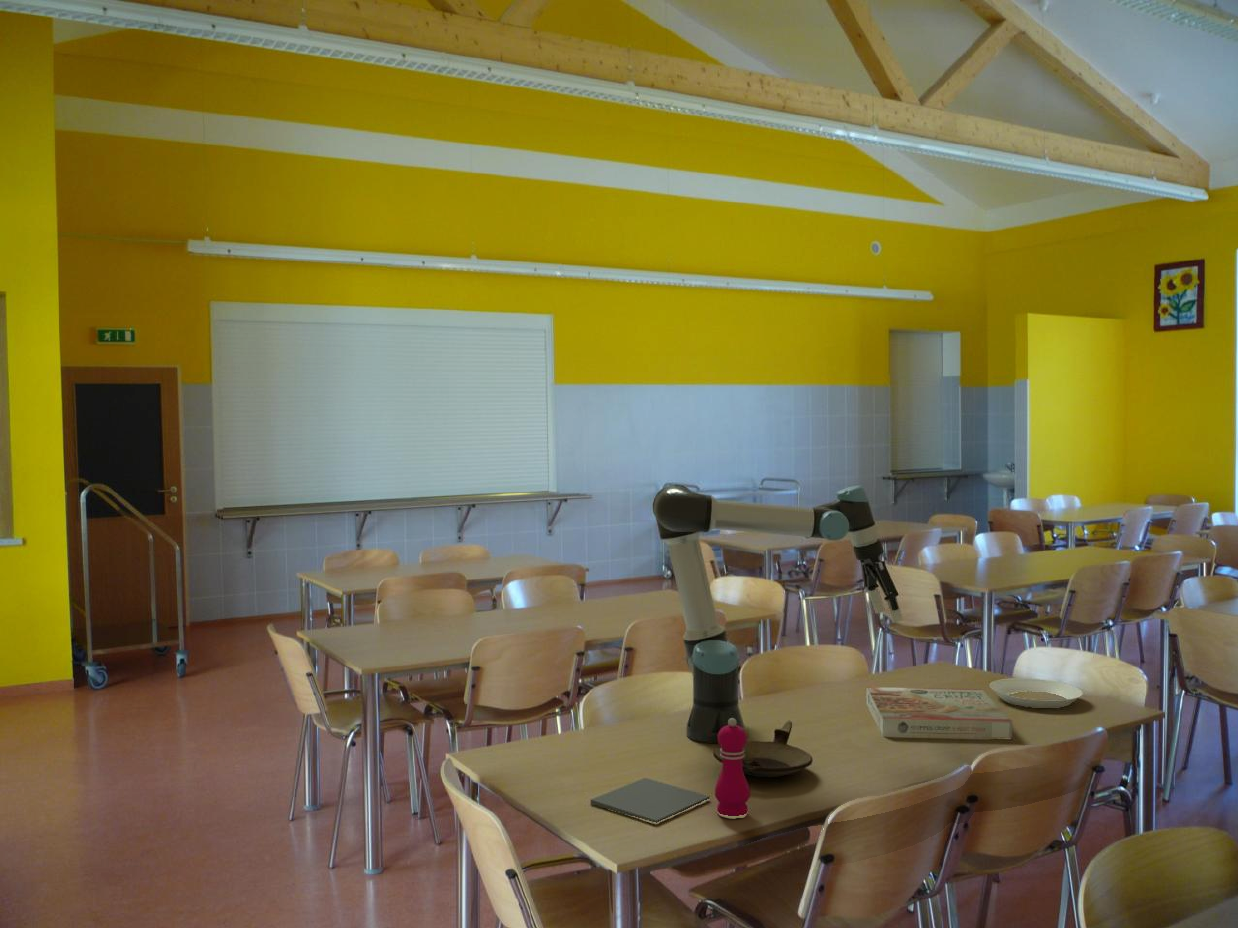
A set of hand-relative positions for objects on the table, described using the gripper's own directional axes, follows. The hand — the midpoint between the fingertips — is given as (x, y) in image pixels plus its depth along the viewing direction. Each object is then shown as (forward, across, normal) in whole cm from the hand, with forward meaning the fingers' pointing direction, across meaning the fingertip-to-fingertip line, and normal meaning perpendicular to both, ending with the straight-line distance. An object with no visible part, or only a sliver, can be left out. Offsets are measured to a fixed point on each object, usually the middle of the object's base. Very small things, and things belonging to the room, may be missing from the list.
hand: (889, 616), depth 287 cm
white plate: (+41, +13, -37) cm, 57 cm away
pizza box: (+31, -4, -2) cm, 31 cm away
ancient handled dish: (+14, -39, +49) cm, 64 cm away
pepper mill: (+10, -64, +62) cm, 90 cm away
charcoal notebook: (+5, -56, +77) cm, 96 cm away
